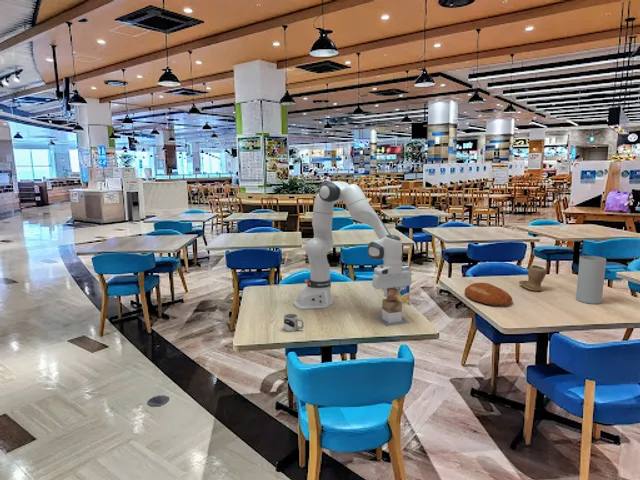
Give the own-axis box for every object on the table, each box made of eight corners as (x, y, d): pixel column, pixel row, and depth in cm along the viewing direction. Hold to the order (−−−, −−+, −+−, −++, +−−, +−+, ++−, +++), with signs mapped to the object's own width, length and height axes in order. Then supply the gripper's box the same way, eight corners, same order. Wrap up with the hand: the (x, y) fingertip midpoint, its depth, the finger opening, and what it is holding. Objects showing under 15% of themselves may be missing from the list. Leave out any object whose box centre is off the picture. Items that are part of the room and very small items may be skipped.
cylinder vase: (576, 296, 248) (580, 254, 244) (602, 299, 241) (606, 257, 236) (574, 301, 238) (578, 258, 234) (601, 305, 231) (605, 261, 226)
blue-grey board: (386, 329, 201) (386, 326, 201) (374, 320, 213) (374, 317, 213) (409, 325, 206) (410, 322, 205) (396, 316, 218) (396, 314, 217)
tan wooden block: (389, 313, 204) (389, 303, 203) (382, 308, 211) (382, 299, 210) (401, 311, 206) (401, 301, 205) (394, 307, 213) (394, 297, 212)
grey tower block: (388, 323, 205) (389, 313, 204) (382, 318, 211) (382, 308, 211) (401, 321, 207) (401, 311, 206) (394, 316, 214) (394, 307, 213)
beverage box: (409, 305, 236) (410, 267, 232) (391, 307, 232) (392, 268, 229) (403, 301, 242) (404, 264, 238) (386, 303, 239) (386, 266, 235)
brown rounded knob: (390, 300, 204) (390, 290, 203) (385, 297, 209) (385, 288, 208) (399, 299, 206) (399, 289, 205) (394, 296, 211) (394, 287, 210)
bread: (489, 309, 227) (490, 294, 226) (454, 293, 257) (454, 279, 256) (523, 305, 234) (524, 290, 232) (484, 289, 264) (485, 276, 262)
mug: (281, 330, 201) (281, 317, 200) (287, 325, 207) (287, 313, 206) (301, 333, 198) (300, 320, 196) (306, 328, 204) (306, 315, 203)
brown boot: (548, 292, 257) (550, 268, 254) (529, 292, 257) (531, 268, 254) (536, 285, 271) (537, 262, 269) (517, 285, 272) (519, 262, 269)
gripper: (407, 265, 211) (407, 291, 213) (371, 268, 204) (370, 296, 207) (414, 267, 205) (413, 295, 208) (377, 271, 199) (376, 299, 201)
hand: (392, 295), depth 207 cm, fingers closed on brown rounded knob, 5 cm apart
